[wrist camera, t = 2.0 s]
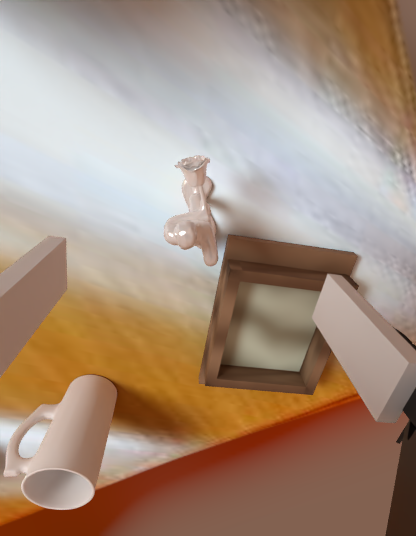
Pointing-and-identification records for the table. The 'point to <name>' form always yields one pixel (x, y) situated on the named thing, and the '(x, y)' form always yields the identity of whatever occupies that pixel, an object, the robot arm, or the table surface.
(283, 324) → the brown picture frame
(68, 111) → the table surface
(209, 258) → the figurine
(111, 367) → the table surface
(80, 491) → the mug
